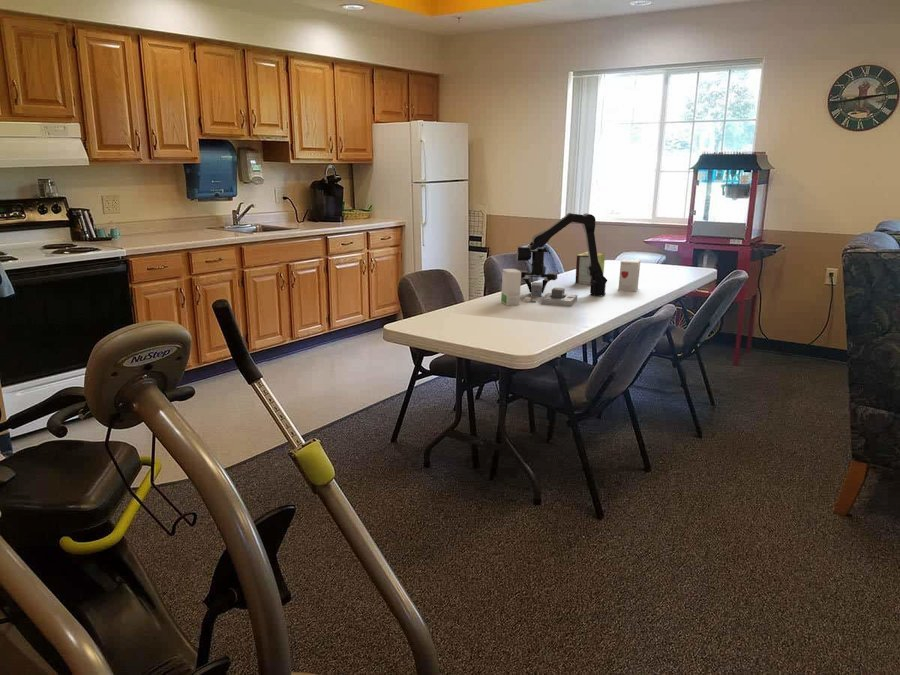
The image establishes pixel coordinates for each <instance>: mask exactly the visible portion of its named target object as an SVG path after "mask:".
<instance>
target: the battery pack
mask: <svg viewBox="0 0 900 675" xmlns="http://www.w3.org/2000/svg"><path fill="white" fill-rule="evenodd" d="M542 294H543V293H542V282H540V281H539V282H538V281H536V282H535V281H531V292H530V297H531V298H533V297H534V298H542V297H543V296H542Z"/></svg>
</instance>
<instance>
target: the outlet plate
mask: <svg viewBox="0 0 900 675" xmlns="http://www.w3.org/2000/svg"><path fill="white" fill-rule="evenodd" d="M551 294H552V292H547V293H545V295H544V296H541V297H540V304H541V305H549V304H550V305H549V306H551V305H552V306H560V305H562V306H561V307H572V306H573V305H574V304H575V303H576V302H577V301H578V295H577V294H568V293H567V294H566V293H564V298H554V297H551Z"/></svg>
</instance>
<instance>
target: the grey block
mask: <svg viewBox="0 0 900 675" xmlns="http://www.w3.org/2000/svg"><path fill="white" fill-rule="evenodd" d="M551 293H552V294H551V297H554V298H564V294H565V288H562V287H553V288H552V289H551Z"/></svg>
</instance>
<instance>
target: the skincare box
mask: <svg viewBox="0 0 900 675" xmlns="http://www.w3.org/2000/svg"><path fill="white" fill-rule="evenodd" d="M520 271H521V270H518V269H516V268H502V279H501V280H502V281H501V294H500V295H501V297H500V302H501V303H502V304H504V305H505V306H507V307H508V306H520V300H521V299H520V298H521V297H520V295H521V283H522V282H521V281H522V278H521V272H520Z"/></svg>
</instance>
